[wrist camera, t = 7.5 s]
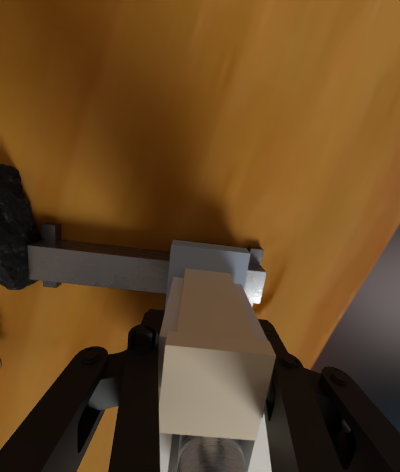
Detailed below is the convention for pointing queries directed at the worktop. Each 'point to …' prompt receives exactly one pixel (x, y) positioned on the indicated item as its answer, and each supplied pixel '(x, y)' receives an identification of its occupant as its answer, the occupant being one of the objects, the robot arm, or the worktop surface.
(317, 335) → the worktop surface
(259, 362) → the carriage
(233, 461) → the copper knob
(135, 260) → the rail
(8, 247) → the rock
